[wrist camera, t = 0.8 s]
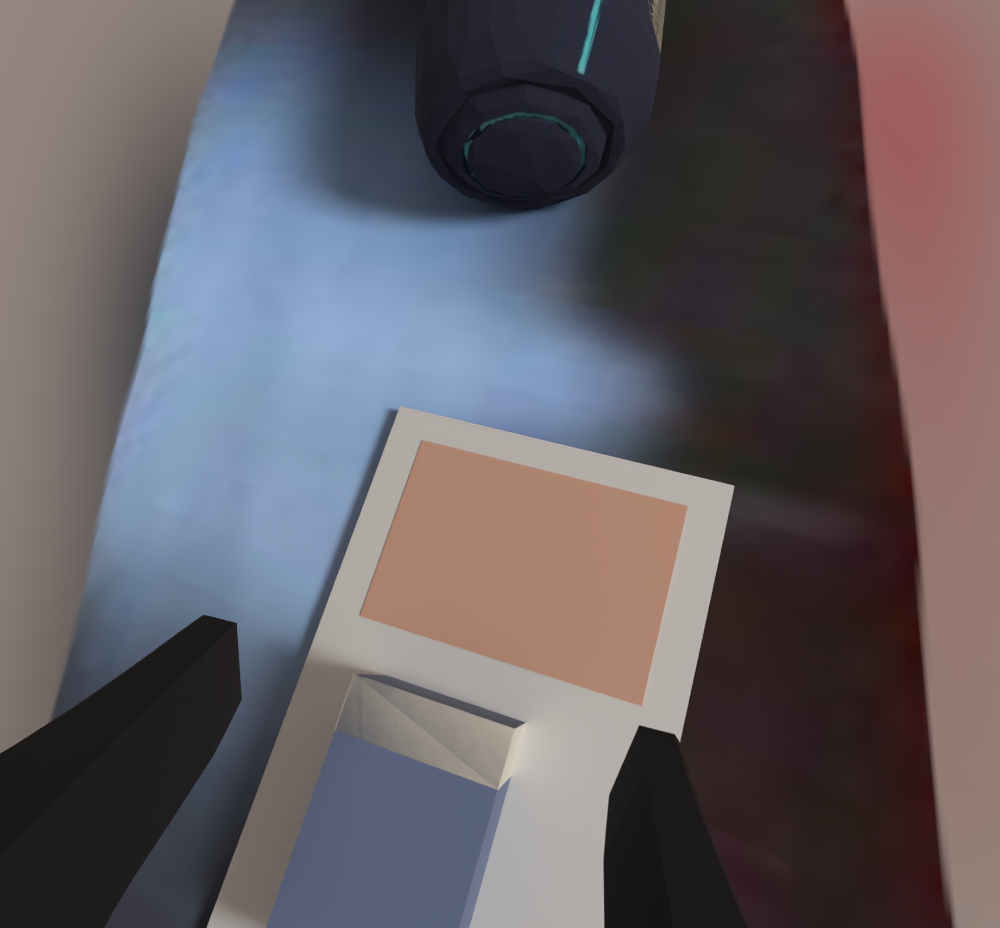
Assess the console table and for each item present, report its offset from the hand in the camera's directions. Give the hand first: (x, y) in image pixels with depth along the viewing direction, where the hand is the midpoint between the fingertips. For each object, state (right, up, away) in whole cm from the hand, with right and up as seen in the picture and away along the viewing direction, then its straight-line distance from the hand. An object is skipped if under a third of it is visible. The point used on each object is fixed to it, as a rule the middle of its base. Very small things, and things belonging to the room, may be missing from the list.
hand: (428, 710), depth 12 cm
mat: (0, -5, +13) cm, 14 cm away
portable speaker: (+5, +26, +23) cm, 35 cm away
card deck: (-2, -8, +11) cm, 14 cm away
